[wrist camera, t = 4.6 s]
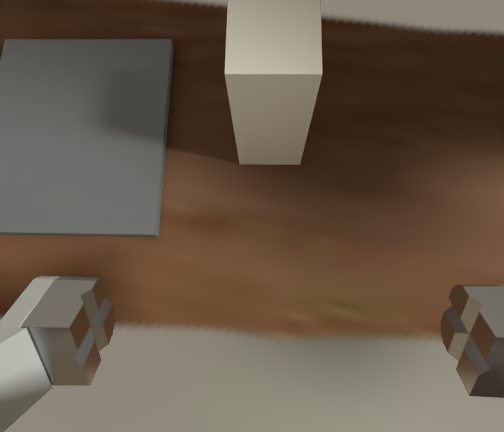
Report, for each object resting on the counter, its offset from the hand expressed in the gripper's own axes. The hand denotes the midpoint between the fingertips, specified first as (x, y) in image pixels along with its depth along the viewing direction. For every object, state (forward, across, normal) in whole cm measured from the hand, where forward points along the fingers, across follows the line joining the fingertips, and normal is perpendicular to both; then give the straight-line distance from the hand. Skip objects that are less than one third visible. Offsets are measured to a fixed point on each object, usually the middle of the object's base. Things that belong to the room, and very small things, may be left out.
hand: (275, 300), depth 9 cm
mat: (+18, +13, +2) cm, 22 cm away
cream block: (+18, 0, +2) cm, 18 cm away
